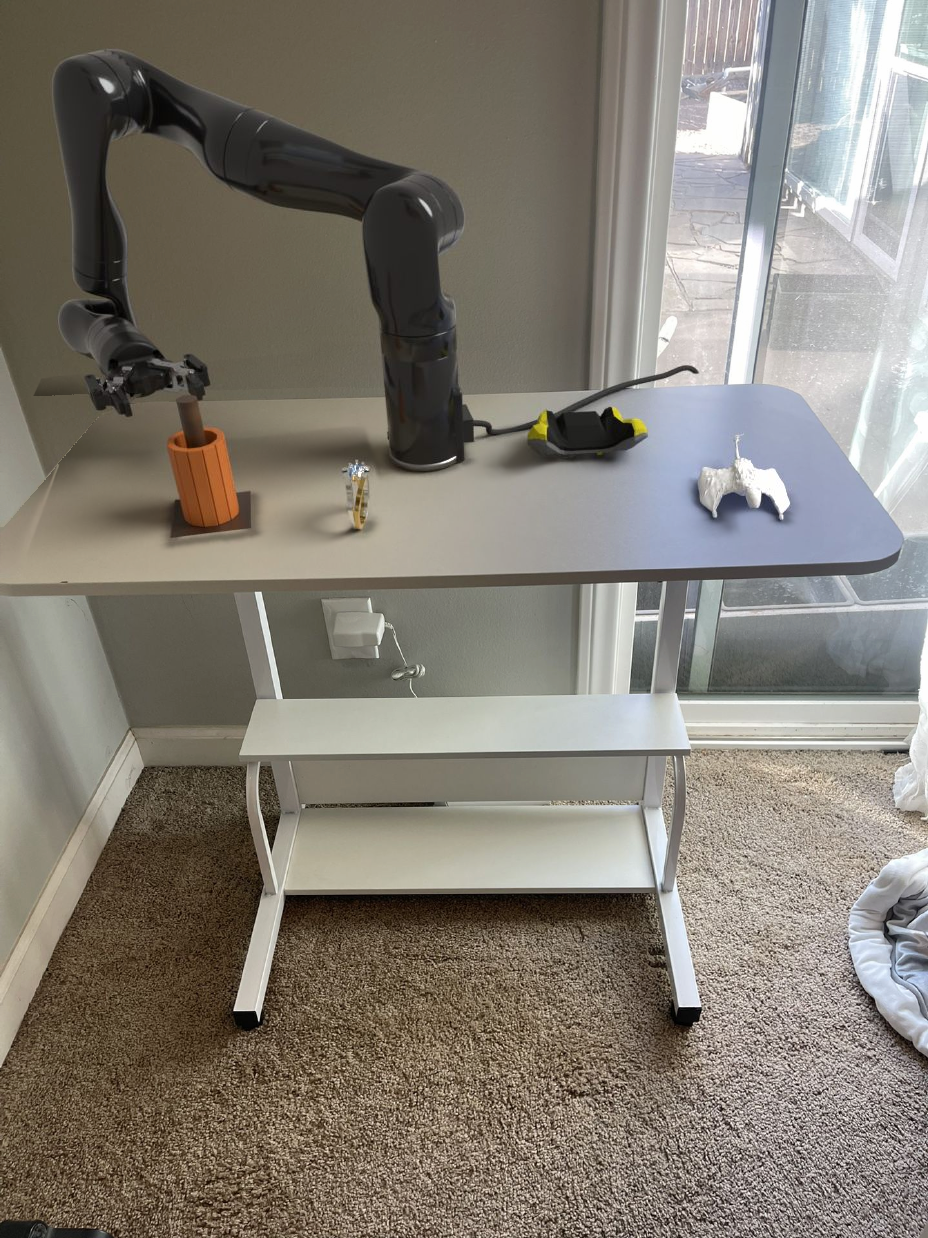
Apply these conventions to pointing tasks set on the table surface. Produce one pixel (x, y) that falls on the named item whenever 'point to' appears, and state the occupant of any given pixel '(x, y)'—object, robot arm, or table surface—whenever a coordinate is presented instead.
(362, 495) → the ring
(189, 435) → the brown peg stand
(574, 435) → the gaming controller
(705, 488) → the white dragon
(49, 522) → the table surface
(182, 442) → the orange stave barrel
